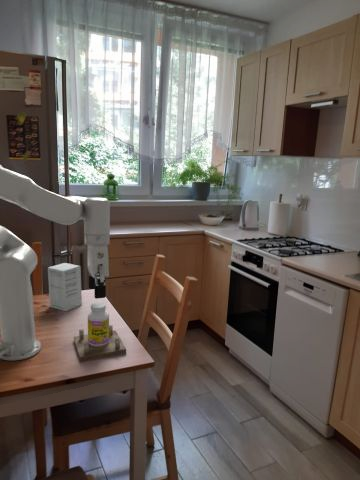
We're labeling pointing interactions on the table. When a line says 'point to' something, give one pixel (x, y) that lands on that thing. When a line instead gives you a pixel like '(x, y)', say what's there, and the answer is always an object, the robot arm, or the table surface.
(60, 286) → the supplement box
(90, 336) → the supplement bottle
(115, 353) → the board
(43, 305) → the table surface
